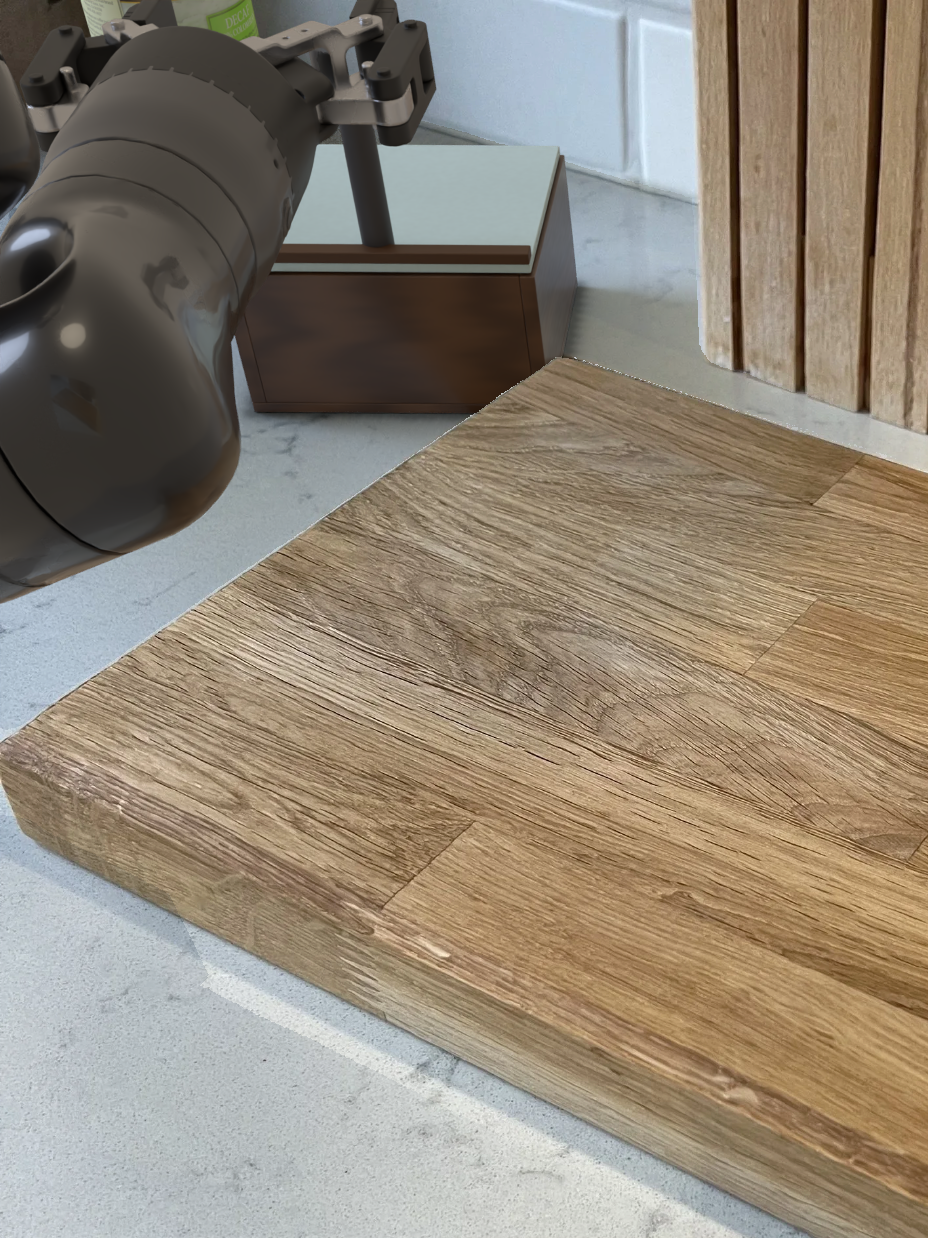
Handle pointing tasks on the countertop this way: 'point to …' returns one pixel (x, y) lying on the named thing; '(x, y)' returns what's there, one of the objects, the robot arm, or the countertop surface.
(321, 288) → the case
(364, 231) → the glass door
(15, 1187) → the countertop surface
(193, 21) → the coffee can
